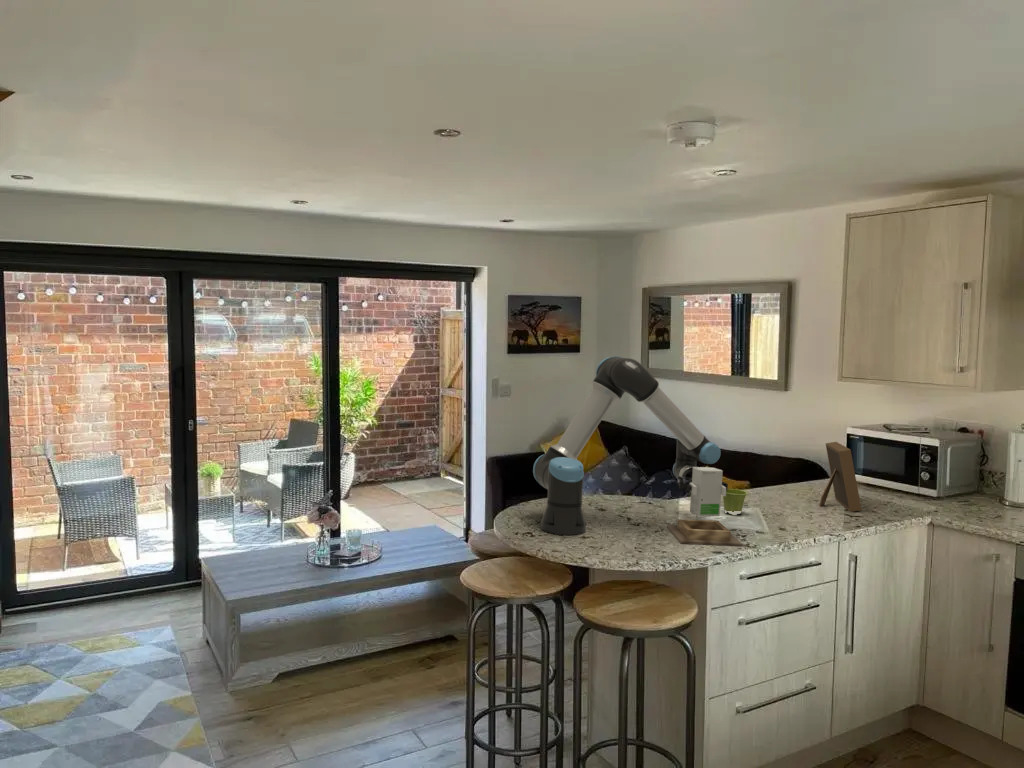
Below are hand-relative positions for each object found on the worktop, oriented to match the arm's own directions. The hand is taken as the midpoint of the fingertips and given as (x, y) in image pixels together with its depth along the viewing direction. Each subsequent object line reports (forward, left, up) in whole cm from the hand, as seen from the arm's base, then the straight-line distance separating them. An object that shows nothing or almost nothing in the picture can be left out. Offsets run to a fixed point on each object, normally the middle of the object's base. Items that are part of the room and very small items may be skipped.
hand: (710, 491), depth 248 cm
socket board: (0, +5, -16) cm, 17 cm away
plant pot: (+21, +39, -17) cm, 47 cm away
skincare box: (0, +5, -9) cm, 10 cm away
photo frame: (+71, +62, -17) cm, 95 cm away
